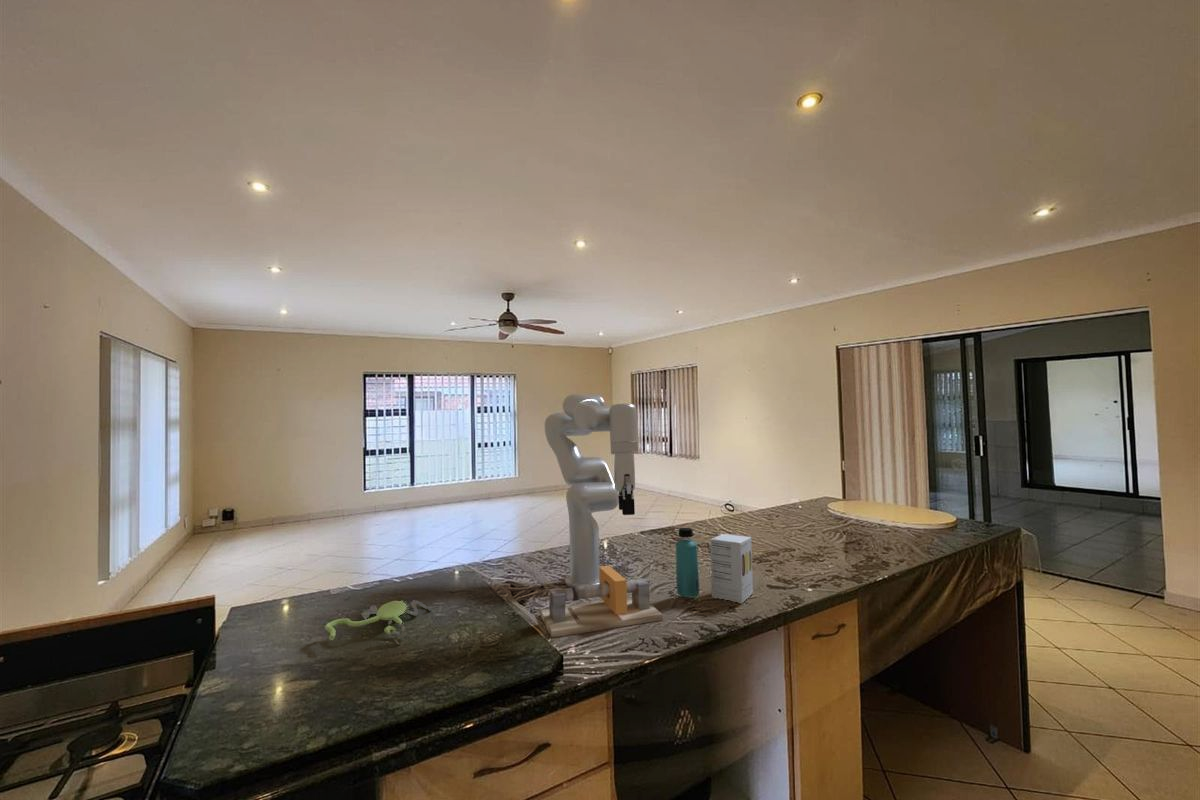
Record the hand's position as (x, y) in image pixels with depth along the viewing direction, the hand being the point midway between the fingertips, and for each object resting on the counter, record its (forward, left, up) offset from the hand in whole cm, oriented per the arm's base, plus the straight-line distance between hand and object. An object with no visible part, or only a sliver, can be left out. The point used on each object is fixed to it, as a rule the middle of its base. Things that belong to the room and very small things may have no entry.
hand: (626, 512), depth 124 cm
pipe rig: (0, -8, -27) cm, 28 cm away
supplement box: (-1, +33, -27) cm, 43 cm away
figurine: (-13, -62, -27) cm, 69 cm away
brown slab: (0, -5, -24) cm, 24 cm away
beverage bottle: (-4, +20, -27) cm, 34 cm away
